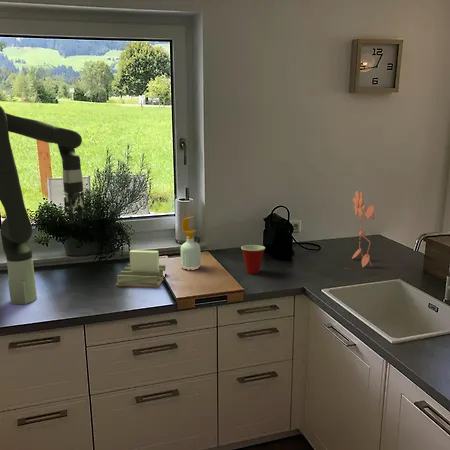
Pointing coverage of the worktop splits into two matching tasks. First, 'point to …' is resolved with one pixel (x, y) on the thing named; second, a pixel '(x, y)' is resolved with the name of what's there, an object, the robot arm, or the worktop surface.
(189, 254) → the soap bottle
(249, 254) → the plastic cup
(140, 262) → the pale green flat slab
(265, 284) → the worktop surface
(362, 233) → the figurine
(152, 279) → the dish rack
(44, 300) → the worktop surface
